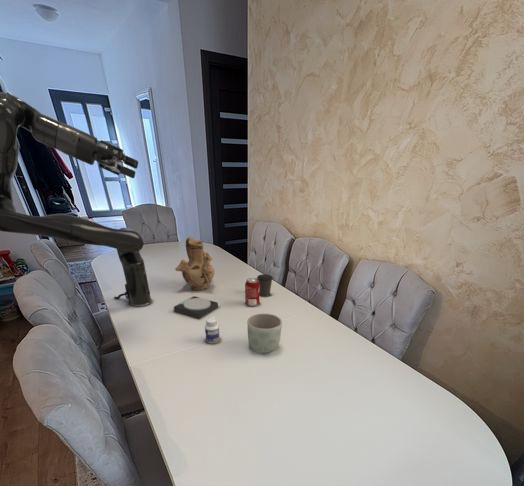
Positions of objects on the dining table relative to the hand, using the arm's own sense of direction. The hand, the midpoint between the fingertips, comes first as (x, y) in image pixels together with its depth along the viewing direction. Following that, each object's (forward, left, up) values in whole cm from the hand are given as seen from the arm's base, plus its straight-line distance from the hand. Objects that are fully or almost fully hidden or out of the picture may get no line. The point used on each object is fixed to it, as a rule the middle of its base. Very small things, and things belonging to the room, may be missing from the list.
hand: (136, 170), depth 96 cm
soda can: (+32, +29, -56) cm, 71 cm away
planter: (+43, -8, -56) cm, 71 cm away
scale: (+8, +18, -56) cm, 59 cm away
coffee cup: (+36, +42, -56) cm, 79 cm away
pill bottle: (+23, -7, -56) cm, 61 cm away
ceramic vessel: (+1, +43, -56) cm, 71 cm away
